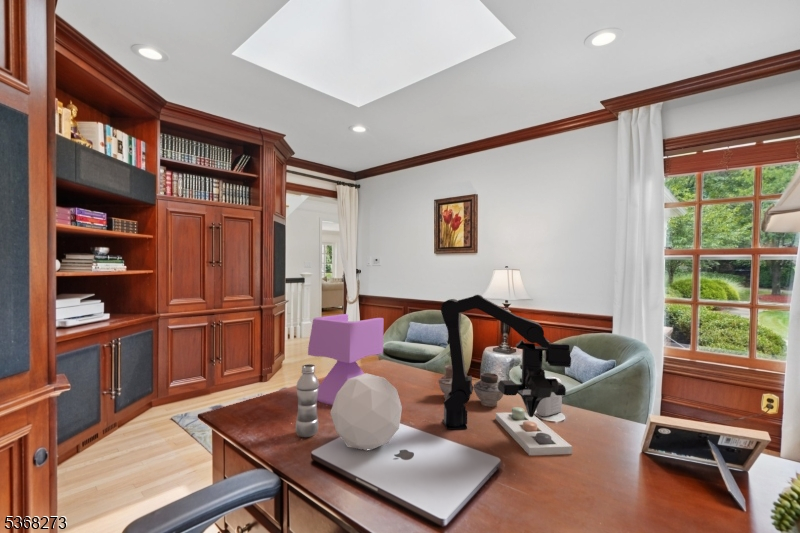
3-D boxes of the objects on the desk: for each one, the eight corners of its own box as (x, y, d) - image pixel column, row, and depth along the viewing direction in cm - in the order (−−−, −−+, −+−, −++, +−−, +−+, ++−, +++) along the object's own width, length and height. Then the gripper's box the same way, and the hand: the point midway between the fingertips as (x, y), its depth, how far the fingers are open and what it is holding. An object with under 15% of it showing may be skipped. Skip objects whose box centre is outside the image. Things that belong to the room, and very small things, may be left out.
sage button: (514, 421, 115) (515, 412, 115) (509, 416, 118) (509, 407, 119) (527, 421, 115) (527, 411, 115) (521, 416, 119) (521, 407, 119)
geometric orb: (377, 478, 96) (387, 438, 84) (315, 440, 102) (317, 397, 90) (407, 421, 111) (419, 380, 99) (352, 390, 116) (357, 348, 105)
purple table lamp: (382, 395, 140) (383, 318, 141) (348, 411, 123) (350, 323, 124) (342, 386, 151) (344, 313, 151) (306, 399, 134) (308, 318, 135)
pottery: (442, 391, 147) (443, 362, 147) (506, 401, 137) (506, 369, 137) (434, 400, 137) (434, 368, 137) (502, 411, 127) (503, 377, 127)
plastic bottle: (322, 432, 107) (324, 364, 108) (309, 442, 101) (311, 369, 101) (303, 428, 109) (305, 362, 110) (290, 438, 103) (292, 367, 103)
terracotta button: (526, 437, 107) (526, 426, 107) (520, 431, 111) (520, 421, 111) (539, 436, 107) (539, 426, 107) (532, 430, 111) (533, 421, 111)
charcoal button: (540, 450, 99) (540, 439, 99) (533, 443, 103) (533, 432, 103) (554, 450, 99) (554, 439, 99) (546, 443, 103) (546, 432, 103)
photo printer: (552, 408, 131) (552, 373, 131) (563, 412, 127) (564, 376, 128) (534, 413, 125) (535, 377, 126) (545, 418, 122) (546, 381, 122)
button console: (529, 455, 96) (529, 447, 96) (495, 418, 120) (495, 412, 120) (572, 453, 98) (572, 446, 98) (530, 418, 121) (530, 412, 121)
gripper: (512, 371, 100) (511, 428, 99) (577, 371, 101) (576, 428, 101) (498, 361, 111) (496, 412, 110) (556, 361, 112) (555, 412, 112)
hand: (530, 416), depth 108 cm, fingers closed
